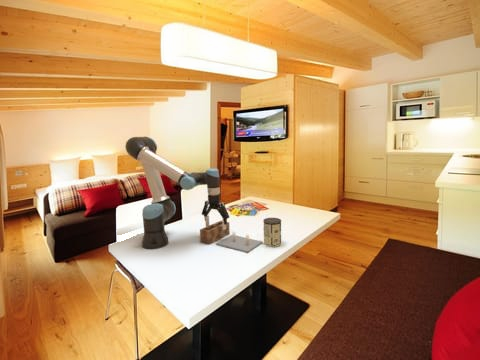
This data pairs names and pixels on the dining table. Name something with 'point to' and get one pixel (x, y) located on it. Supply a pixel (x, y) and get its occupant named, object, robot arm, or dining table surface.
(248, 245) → the peg board
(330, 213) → the dining table surface
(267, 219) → the coffee can
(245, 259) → the dining table surface
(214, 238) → the wooden hollow block
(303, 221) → the dining table surface
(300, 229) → the dining table surface
